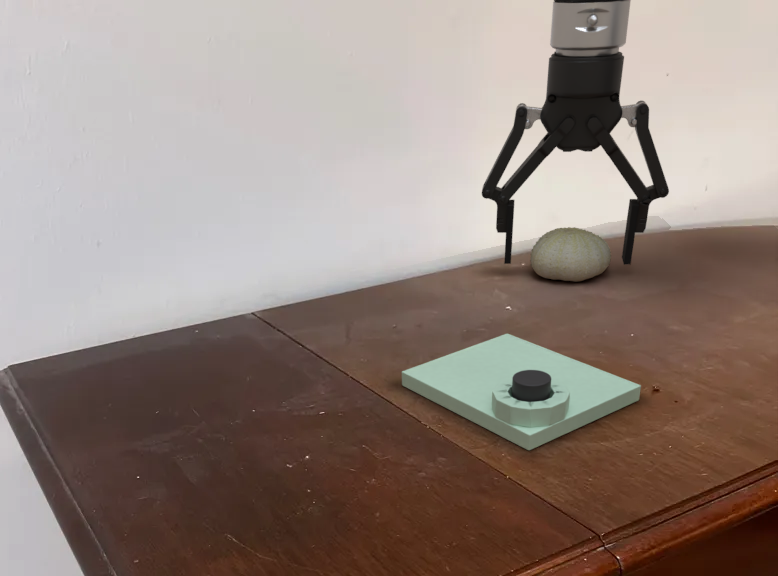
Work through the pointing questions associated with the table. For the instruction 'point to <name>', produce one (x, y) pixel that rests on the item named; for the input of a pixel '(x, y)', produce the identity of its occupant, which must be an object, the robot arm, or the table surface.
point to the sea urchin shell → (570, 255)
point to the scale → (494, 389)
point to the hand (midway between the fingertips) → (566, 261)
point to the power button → (531, 386)
